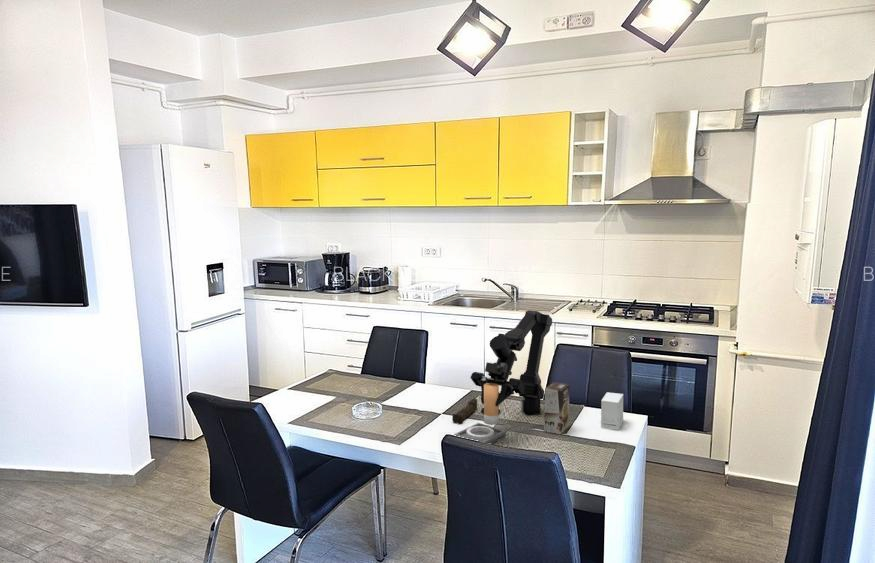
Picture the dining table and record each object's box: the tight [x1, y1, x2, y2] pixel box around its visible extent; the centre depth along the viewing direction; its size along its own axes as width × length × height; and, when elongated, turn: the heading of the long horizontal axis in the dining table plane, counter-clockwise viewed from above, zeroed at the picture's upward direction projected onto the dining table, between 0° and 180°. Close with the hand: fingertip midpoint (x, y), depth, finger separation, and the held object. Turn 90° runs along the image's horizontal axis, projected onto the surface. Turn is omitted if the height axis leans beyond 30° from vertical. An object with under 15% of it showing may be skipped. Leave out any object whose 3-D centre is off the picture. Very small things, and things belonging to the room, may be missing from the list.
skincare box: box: [600, 391, 624, 431], centre depth 207 cm, size 10×6×10 cm, turn 152°
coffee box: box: [543, 381, 570, 435], centre depth 203 cm, size 9×6×16 cm
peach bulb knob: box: [483, 383, 500, 426], centre depth 192 cm, size 5×5×13 cm
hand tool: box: [451, 398, 478, 425], centre depth 218 cm, size 19×4×5 cm, turn 151°
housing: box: [453, 422, 507, 445], centre depth 196 cm, size 14×12×2 cm
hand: (489, 404), depth 191 cm, fingers closed on peach bulb knob, 5 cm apart
